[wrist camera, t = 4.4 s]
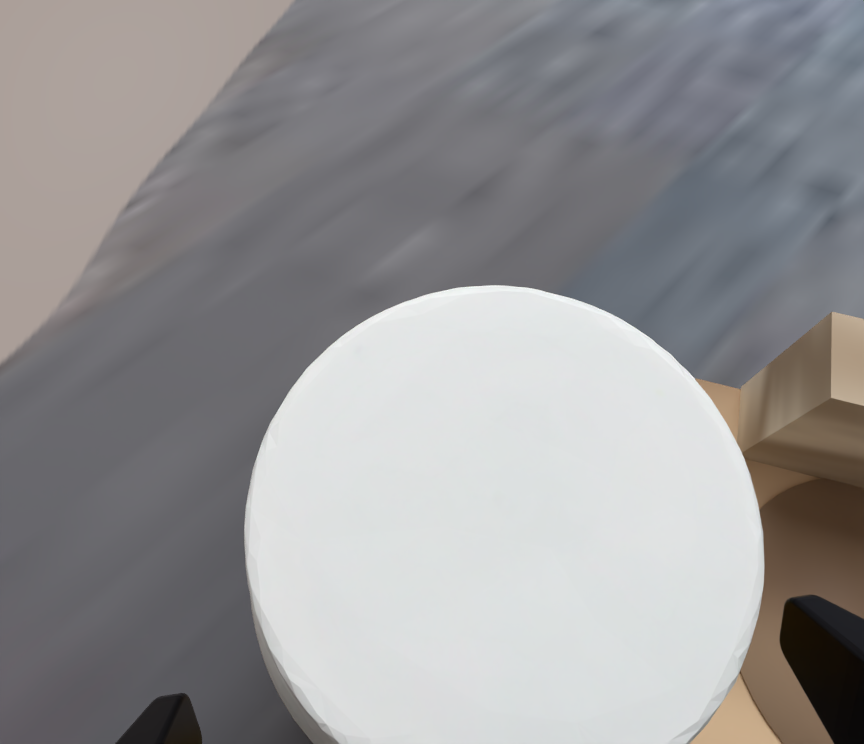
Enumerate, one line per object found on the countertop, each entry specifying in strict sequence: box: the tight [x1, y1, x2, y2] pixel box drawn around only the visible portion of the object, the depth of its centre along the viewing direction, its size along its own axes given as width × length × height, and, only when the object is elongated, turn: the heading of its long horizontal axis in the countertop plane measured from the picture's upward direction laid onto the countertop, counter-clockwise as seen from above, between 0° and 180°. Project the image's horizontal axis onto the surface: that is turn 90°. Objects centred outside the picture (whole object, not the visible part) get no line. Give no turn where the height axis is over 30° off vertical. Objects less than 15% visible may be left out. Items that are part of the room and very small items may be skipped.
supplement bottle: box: [244, 285, 764, 744], centre depth 12 cm, size 7×7×13 cm
